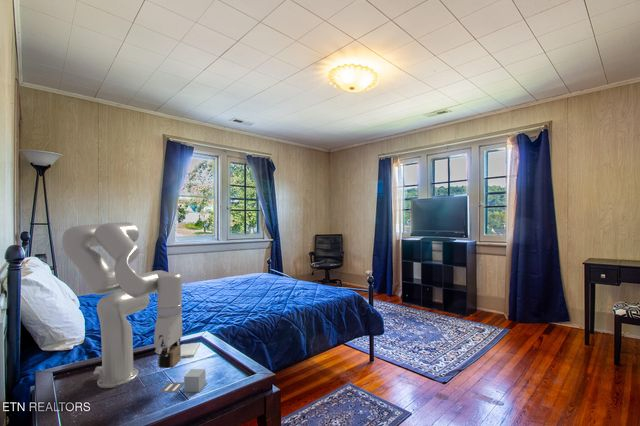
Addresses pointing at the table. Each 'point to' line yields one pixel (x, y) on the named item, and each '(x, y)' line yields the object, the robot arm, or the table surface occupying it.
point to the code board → (176, 388)
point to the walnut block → (172, 355)
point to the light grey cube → (194, 380)
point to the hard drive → (189, 350)
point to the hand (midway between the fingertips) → (169, 362)
